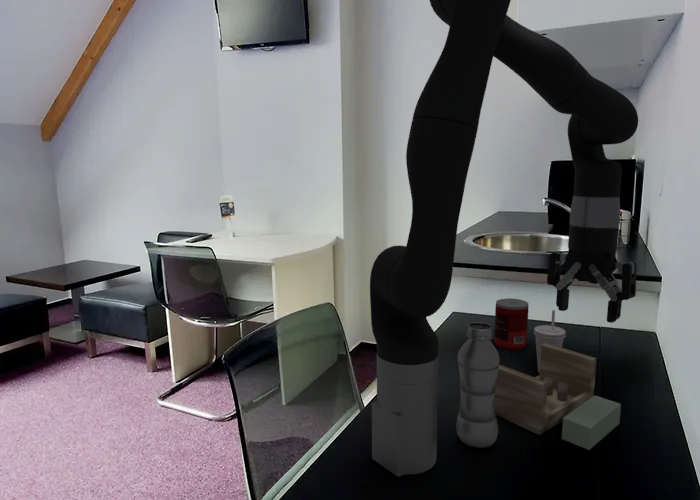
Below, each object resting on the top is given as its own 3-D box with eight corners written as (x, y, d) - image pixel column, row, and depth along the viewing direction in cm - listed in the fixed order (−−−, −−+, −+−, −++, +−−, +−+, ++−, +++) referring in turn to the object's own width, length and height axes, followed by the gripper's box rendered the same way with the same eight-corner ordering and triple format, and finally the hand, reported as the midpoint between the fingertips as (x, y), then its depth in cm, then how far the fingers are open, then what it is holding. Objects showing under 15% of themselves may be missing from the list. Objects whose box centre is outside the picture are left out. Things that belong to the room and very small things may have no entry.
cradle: (539, 434, 85) (542, 384, 84) (488, 411, 93) (490, 365, 92) (593, 403, 96) (596, 358, 95) (543, 384, 104) (545, 342, 103)
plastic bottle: (490, 458, 79) (495, 335, 75) (449, 445, 82) (452, 328, 79) (502, 438, 84) (507, 323, 81) (463, 427, 88) (466, 317, 84)
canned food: (529, 342, 128) (532, 300, 126) (521, 353, 121) (524, 308, 119) (499, 337, 132) (501, 296, 130) (490, 347, 125) (491, 304, 123)
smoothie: (566, 379, 106) (570, 315, 104) (533, 377, 108) (537, 314, 105) (559, 367, 112) (563, 306, 110) (529, 365, 114) (532, 305, 111)
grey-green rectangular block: (588, 451, 81) (590, 428, 80) (561, 440, 84) (563, 418, 83) (619, 425, 89) (621, 403, 88) (593, 415, 92) (594, 395, 91)
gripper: (542, 221, 88) (537, 310, 91) (628, 229, 78) (619, 330, 80) (564, 218, 93) (559, 303, 96) (648, 225, 82) (639, 321, 85)
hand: (586, 315), depth 88 cm, fingers open, 8 cm apart
